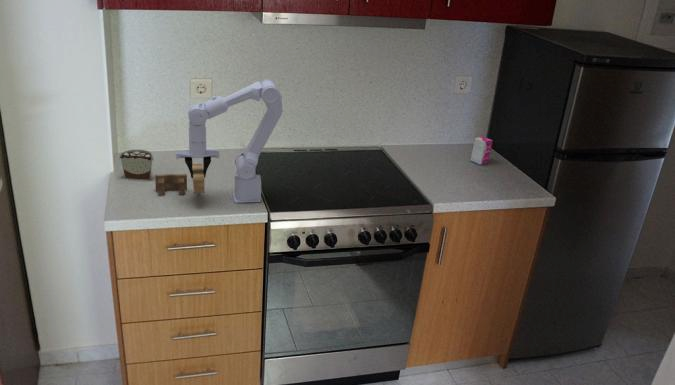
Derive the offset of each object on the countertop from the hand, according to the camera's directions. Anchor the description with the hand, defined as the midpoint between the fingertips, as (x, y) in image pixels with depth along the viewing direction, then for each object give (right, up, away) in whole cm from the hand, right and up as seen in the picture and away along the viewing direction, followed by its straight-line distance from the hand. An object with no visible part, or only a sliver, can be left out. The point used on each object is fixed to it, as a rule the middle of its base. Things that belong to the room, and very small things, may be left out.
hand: (198, 176), depth 210 cm
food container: (-26, 0, +17) cm, 32 cm away
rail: (0, -3, +1) cm, 3 cm away
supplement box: (+113, +8, +61) cm, 129 cm away
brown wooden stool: (-11, -6, +6) cm, 14 cm away
